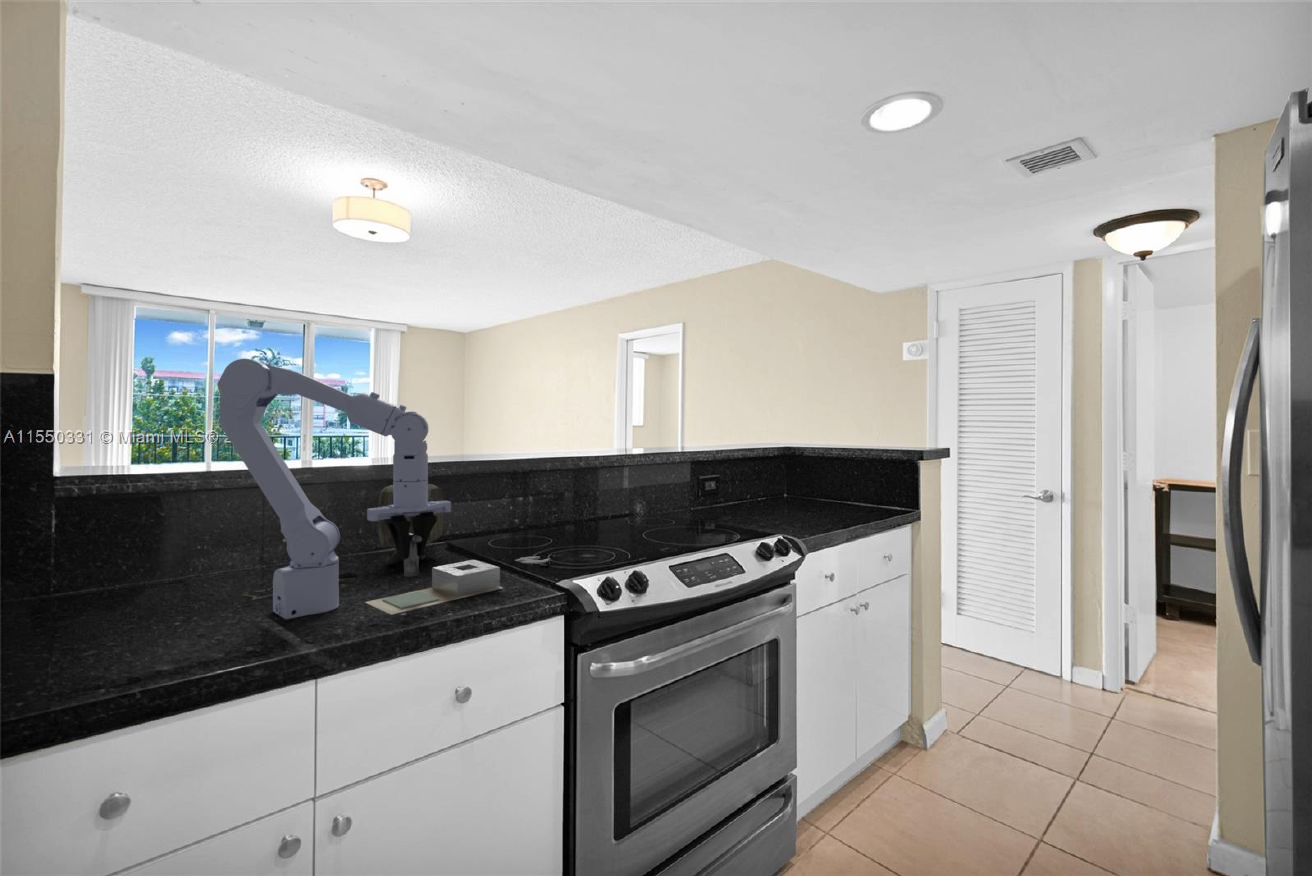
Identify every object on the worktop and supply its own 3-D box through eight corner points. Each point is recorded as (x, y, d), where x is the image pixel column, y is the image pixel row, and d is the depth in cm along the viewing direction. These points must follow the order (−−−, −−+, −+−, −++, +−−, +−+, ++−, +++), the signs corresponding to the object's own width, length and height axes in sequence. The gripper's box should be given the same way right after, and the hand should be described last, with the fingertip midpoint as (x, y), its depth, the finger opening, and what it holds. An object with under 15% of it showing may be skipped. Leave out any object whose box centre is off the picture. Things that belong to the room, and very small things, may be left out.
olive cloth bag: (410, 552, 154) (409, 452, 153) (445, 553, 153) (445, 452, 152) (378, 566, 139) (377, 455, 138) (416, 567, 138) (416, 456, 138)
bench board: (391, 621, 102) (391, 614, 102) (364, 608, 109) (364, 602, 109) (503, 594, 119) (503, 587, 119) (474, 584, 125) (474, 578, 125)
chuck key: (413, 579, 107) (413, 536, 107) (398, 573, 111) (397, 532, 110) (426, 576, 109) (426, 535, 108) (410, 571, 112) (410, 530, 112)
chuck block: (457, 597, 112) (457, 576, 112) (432, 588, 118) (432, 567, 118) (499, 587, 119) (499, 567, 119) (473, 579, 125) (473, 559, 125)
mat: (401, 609, 105) (401, 607, 105) (382, 600, 110) (382, 599, 110) (439, 600, 110) (439, 598, 110) (419, 592, 115) (419, 591, 115)
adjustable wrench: (435, 580, 130) (435, 572, 130) (432, 573, 136) (431, 565, 136) (551, 567, 141) (551, 560, 141) (543, 561, 147) (543, 554, 147)
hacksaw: (356, 575, 133) (356, 568, 133) (375, 585, 126) (375, 577, 126) (221, 598, 115) (221, 590, 115) (235, 610, 108) (235, 602, 108)
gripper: (380, 485, 101) (380, 567, 102) (459, 479, 112) (459, 553, 113) (361, 482, 106) (361, 560, 106) (439, 476, 117) (439, 547, 117)
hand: (411, 556), depth 110 cm, fingers closed on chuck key, 2 cm apart
